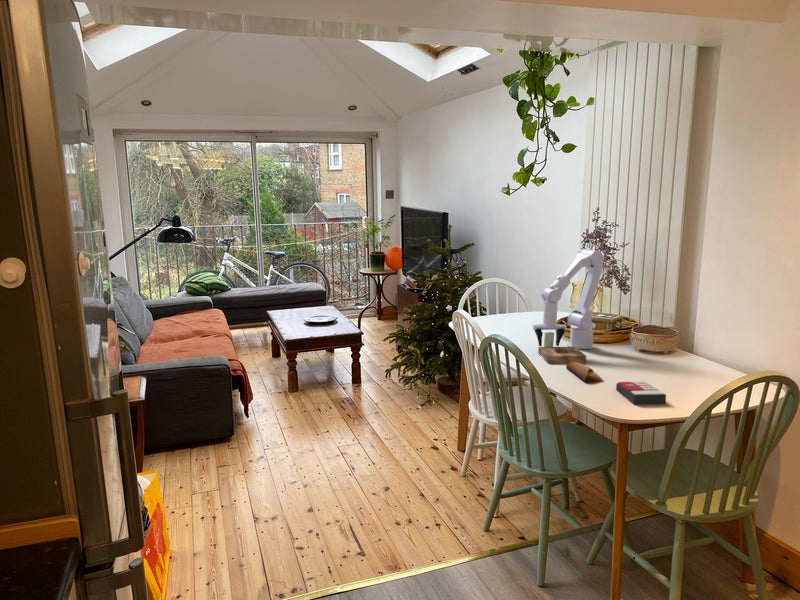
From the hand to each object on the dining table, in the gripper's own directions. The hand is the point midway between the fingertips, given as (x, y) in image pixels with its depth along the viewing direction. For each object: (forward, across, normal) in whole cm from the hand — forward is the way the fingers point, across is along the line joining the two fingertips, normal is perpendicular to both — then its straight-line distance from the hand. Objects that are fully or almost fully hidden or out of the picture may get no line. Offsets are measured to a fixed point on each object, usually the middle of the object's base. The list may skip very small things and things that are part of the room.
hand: (548, 345), depth 267 cm
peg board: (+2, -2, +12) cm, 12 cm away
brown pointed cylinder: (+3, -4, +35) cm, 35 cm away
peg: (+2, 0, 0) cm, 2 cm away
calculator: (+3, -15, +59) cm, 61 cm away
